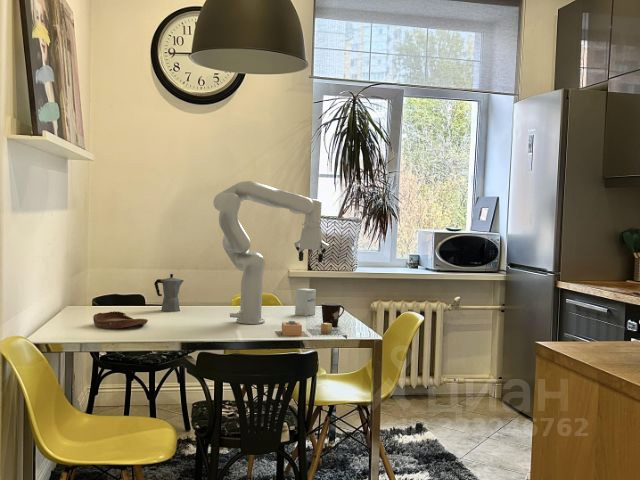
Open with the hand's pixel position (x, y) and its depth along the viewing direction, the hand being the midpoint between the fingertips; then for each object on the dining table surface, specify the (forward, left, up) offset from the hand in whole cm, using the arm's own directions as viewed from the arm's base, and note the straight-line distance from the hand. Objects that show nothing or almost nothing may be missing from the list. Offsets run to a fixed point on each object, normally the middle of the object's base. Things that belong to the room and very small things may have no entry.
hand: (310, 261), depth 315 cm
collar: (-15, -48, -26) cm, 56 cm away
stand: (-15, -48, -27) cm, 57 cm away
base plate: (0, -44, -27) cm, 51 cm away
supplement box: (+1, +13, -27) cm, 30 cm away
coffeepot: (-65, +22, -27) cm, 74 cm away
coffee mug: (+8, -21, -27) cm, 35 cm away
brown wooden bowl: (-83, -23, -28) cm, 91 cm away
